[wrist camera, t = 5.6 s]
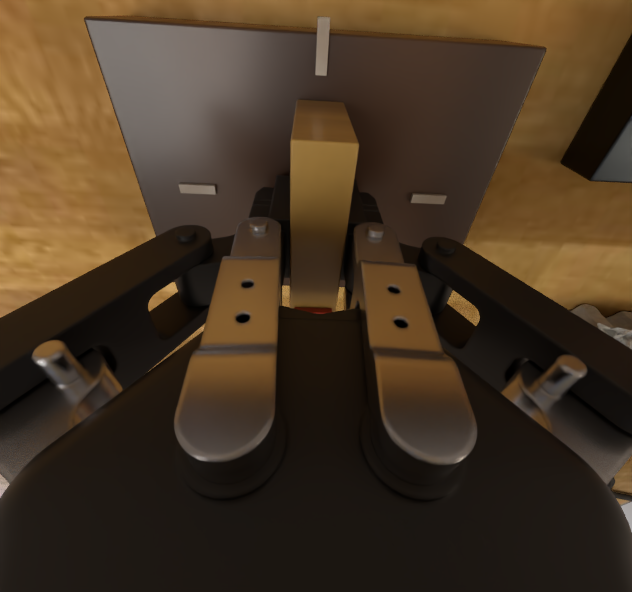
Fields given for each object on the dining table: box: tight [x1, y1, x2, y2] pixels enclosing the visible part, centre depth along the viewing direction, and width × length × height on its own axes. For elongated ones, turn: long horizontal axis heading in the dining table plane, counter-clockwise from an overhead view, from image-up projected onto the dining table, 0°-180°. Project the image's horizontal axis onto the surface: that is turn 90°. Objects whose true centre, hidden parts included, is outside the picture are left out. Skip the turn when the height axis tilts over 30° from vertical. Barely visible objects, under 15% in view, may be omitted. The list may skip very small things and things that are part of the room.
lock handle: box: [290, 99, 359, 314], centre depth 11 cm, size 6×2×5 cm, turn 177°
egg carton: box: [571, 304, 632, 349], centre depth 23 cm, size 11×8×4 cm
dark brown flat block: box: [84, 16, 546, 287], centre depth 14 cm, size 14×11×3 cm
